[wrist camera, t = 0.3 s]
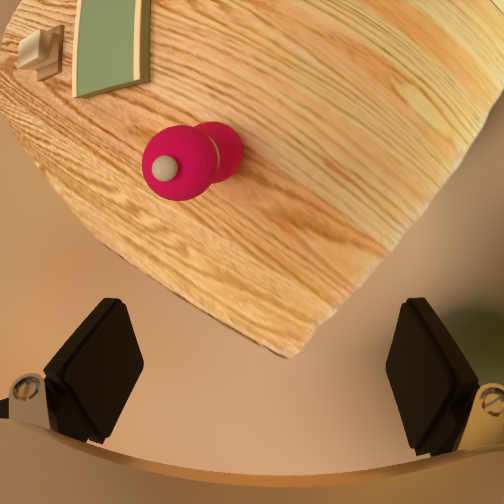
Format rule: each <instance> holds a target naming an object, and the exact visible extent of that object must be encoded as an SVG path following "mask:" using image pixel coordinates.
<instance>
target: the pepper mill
mask: <svg viewBox="0 0 504 504" xmlns="http://www.w3.org/2000/svg"><path fill="white" fill-rule="evenodd" d="M242 157H243V147H242V143H241V140H240V138H239V136H238V135H237V133H236V132H235V131H234V130H233V129H232V128H230V127H229V126H227V125H225V124H223V123H220V122H205V123H202V124H199V125H197V126H195V127H191V126H186V125H177V126H173V127H168V128H166V129H164V130H162V131H160V132H159V133H157V134H156V135H155V136H154V137H153V138H152V139H151V140H150V142H149V143H148V145H147V147H146V148H145V151H144V154H143V159H142V171H143V175H144V178H145V180H146V182H147V184H148V186H149V187H150V188H151V189H152V190H153V191H154V192H155V193H156V194H158V195H159V196H161V197H163V198H165V199H168V200H173V201H185V200H189V199H192V198H195V197H196V196H198V195H200V194H202V193H203V192H204V191H205V190H206V189H207V188H208V187H209V186H210V185H211V183H217V182H221V181H223V180H226V179H227V178H229V177H231V176H232V175H233V174H234V173H235V172H236V171H237V169H238V168H239V166H240V164H241V161H242Z"/></svg>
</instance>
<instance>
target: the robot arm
mask: <svg viewBox="0 0 504 504" xmlns="http://www.w3.org/2000/svg"><path fill="white" fill-rule="evenodd" d="M143 366H144V361H143V358H142V354H141V352H140V349H139V346H138V343H137V340H136V337H135V333H134V330H133V327H132V324H131V321H130V317H129V314H128V311H127V307H126V305H125V304H124V303H122V301H121V300H120V299H117V298H104V299H103V300H102V301H101V302H100V303H99V304H98V305H97V307H95V309H94V310H93V311H92V312H91V313H90V314H89V316H88V317H87V318H86V319H85V320H84V321H83V322H82V323H81V325H80V326H79V327H78V328H77V329H76V330H75V332H74V333H73V334H72V335H71V336H70V337H69V339H68V340H67V341H66V342H65V343H64V345H63V346H62V347H61V348H60V350H59V351H58V352H57V353H56V354H55V356H54V357H53V358H52V360H51V361H50V362H49V363H48V364H47V366H46V367H45V368H44V370H43V371H44V373H45V375H46V377H45V379H43V378H42V377H41V376H40V375H38V374H35V373H30V374H25V375H23V376H21V377H19V378H18V379H16V380H15V382H14V383H13V384H12V386H11V388H10V391H9V398H6V399H3V400H0V504H504V387H503V386H501V385H499V384H493V383H492V384H486V385H483V386H482V387H481V388H480V386H479V384H478V378H477V377H476V375H475V373H474V372H473V370H472V368H471V366H470V365H469V363H468V361H467V360H466V358H465V357H464V355H463V353H462V352H461V350H460V349H459V347H458V346H457V344H456V342H455V341H454V339H453V338H452V336H451V335H450V333H449V332H448V330H447V329H446V327H445V326H444V324H443V323H442V321H441V320H440V319H439V317H438V316H437V314H436V313H435V311H434V310H433V309H432V307H431V306H430V304H429V303H428V302H427V300H426V299H425V298H423V297H420V298H409V299H407V301H406V303H403V304H402V305H401V309H400V313H399V318H398V322H397V326H396V330H395V333H394V337H393V341H392V344H391V348H390V351H389V355H388V358H387V362H386V373H387V376H388V379H389V382H390V385H391V388H392V391H393V394H394V397H395V400H396V403H397V406H398V409H399V413H400V416H401V419H402V422H403V425H404V429H405V432H406V435H407V439H408V443H409V446H410V447H411V448H412V449H413V448H414V449H415V452H416V455H417V456H419V455H423V454H427V453H430V455H431V457H430V458H425V459H421V460H417V461H412V462H408V463H403V464H398V465H392V466H386V467H381V468H375V469H368V470H360V471H353V472H343V473H334V474H333V473H332V474H318V475H297V476H296V475H292V476H291V475H290V476H276V475H274V476H272V475H247V474H246V475H245V474H233V473H222V472H212V471H204V470H197V469H190V468H184V467H178V466H172V465H167V464H162V463H157V462H152V461H148V460H144V459H139V458H135V457H131V456H127V455H124V454H120V453H116V452H113V451H109V450H106V449H103V448H100V447H97V446H94V445H91V444H88V443H86V442H87V440H88V439H89V440H90V441H93V442H96V443H99V444H103V442H104V440H105V438H108V437H109V436H110V435H111V433H112V431H113V429H114V426H115V424H116V422H117V420H118V418H119V416H120V414H121V412H122V410H123V408H124V406H125V404H126V402H127V400H128V398H129V396H130V394H131V392H132V389H133V388H134V385H135V384H136V382H137V380H138V378H139V376H140V374H141V372H142V370H143Z"/></svg>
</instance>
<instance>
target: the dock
mask: <svg viewBox="0 0 504 504" xmlns="http://www.w3.org/2000/svg"><path fill="white" fill-rule="evenodd" d="M150 5H151V0H78V3H77V11H76V19H75V30H74V42H73V62H72V98H83V99H86V98H89V97H92V96H96V95H99V94H103V93H106V92H110V91H114V90H118V89H122V88H126V87H130V86H134V85H139V84H144V83H148V82H150V71H149V36H150Z"/></svg>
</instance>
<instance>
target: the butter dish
mask: <svg viewBox="0 0 504 504" xmlns="http://www.w3.org/2000/svg"><path fill="white" fill-rule="evenodd" d="M63 36H64V25H58V26H57V27H55V28H53V29H51V30H49V31H46V30H42V29H40V30H38V31H36V32H34V33H33V34H31V35H29V36H28V37H26V38H24V39H23V40H21V41H20V43H19V53H18V65H17V69H28V70H37V81H43V80H45V79H47V78H49V77H51V76H54V75H56V74H58V73H61V72H62V50H63Z"/></svg>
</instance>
